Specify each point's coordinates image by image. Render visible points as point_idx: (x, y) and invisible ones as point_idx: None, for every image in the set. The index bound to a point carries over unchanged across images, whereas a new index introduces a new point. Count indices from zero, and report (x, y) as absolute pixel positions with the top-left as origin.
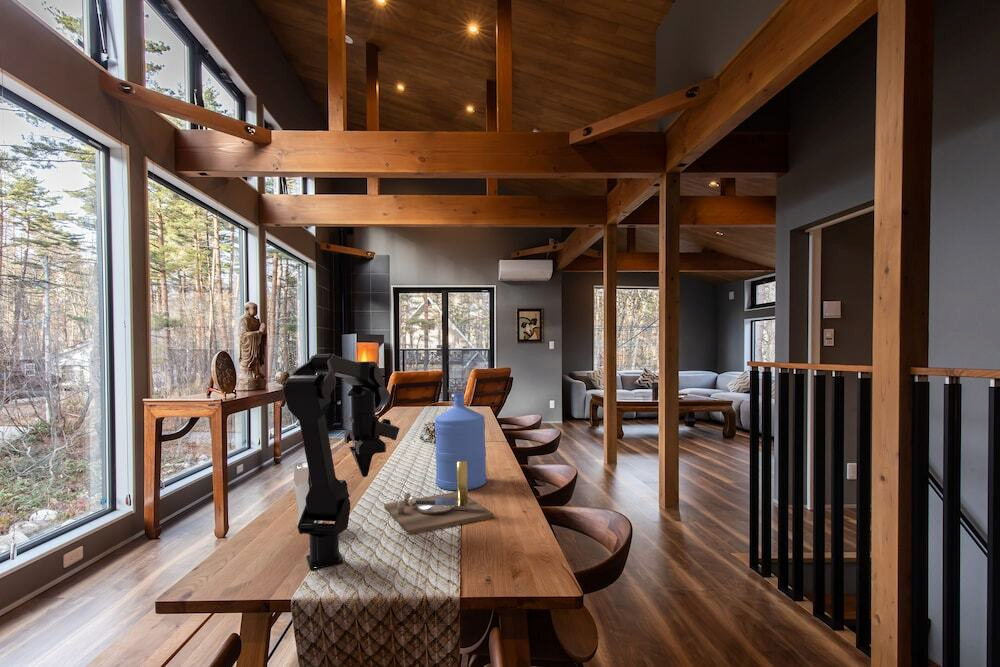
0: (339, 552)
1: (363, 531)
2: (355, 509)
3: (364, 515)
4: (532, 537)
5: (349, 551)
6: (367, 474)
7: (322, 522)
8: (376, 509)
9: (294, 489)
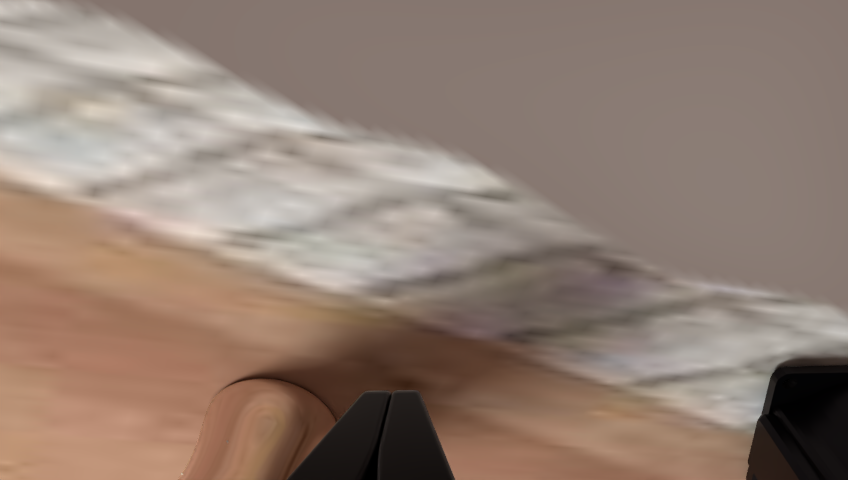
0: (830, 373)
1: (532, 198)
2: (57, 178)
3: (209, 141)
4: None
5: (804, 314)
6: (423, 410)
7: (284, 386)
8: (89, 30)
9: None
